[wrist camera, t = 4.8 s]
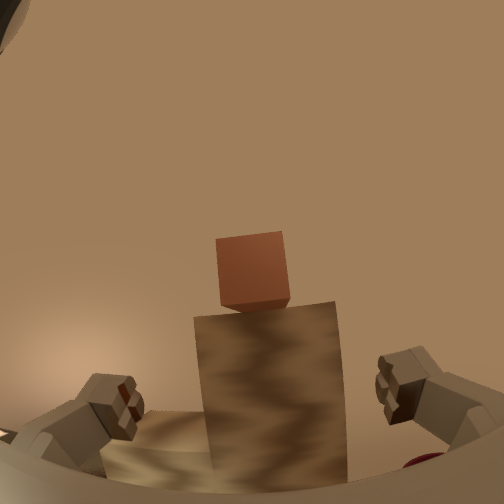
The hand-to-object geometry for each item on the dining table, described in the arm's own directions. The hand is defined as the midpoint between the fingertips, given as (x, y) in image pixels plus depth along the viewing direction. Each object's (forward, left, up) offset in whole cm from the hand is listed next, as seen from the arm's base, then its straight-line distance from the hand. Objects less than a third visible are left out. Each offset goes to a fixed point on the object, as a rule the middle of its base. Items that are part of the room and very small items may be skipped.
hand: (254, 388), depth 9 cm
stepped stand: (-5, +17, -23) cm, 29 cm away
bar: (0, +12, +3) cm, 13 cm away
